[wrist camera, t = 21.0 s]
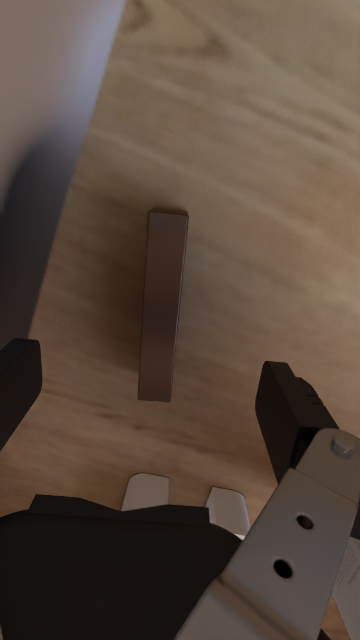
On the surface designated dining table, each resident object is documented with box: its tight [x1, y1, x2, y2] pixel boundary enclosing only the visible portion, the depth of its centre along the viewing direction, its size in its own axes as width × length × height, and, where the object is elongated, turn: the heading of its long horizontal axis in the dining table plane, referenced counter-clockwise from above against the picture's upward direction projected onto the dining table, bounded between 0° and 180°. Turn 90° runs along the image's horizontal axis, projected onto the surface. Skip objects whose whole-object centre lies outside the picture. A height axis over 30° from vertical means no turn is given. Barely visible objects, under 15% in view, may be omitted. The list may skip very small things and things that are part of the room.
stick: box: [138, 208, 189, 402], centre depth 20 cm, size 11×2×3 cm, turn 175°
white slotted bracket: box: [121, 473, 250, 540], centre depth 25 cm, size 10×18×11 cm, turn 166°
